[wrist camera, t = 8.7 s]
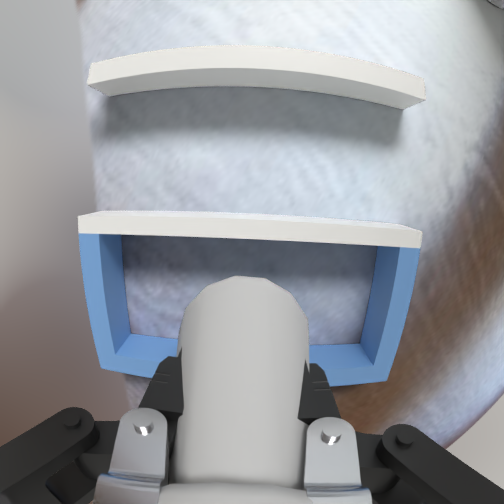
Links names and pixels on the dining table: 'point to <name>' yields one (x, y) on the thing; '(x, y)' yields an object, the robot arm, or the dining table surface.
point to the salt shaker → (240, 397)
